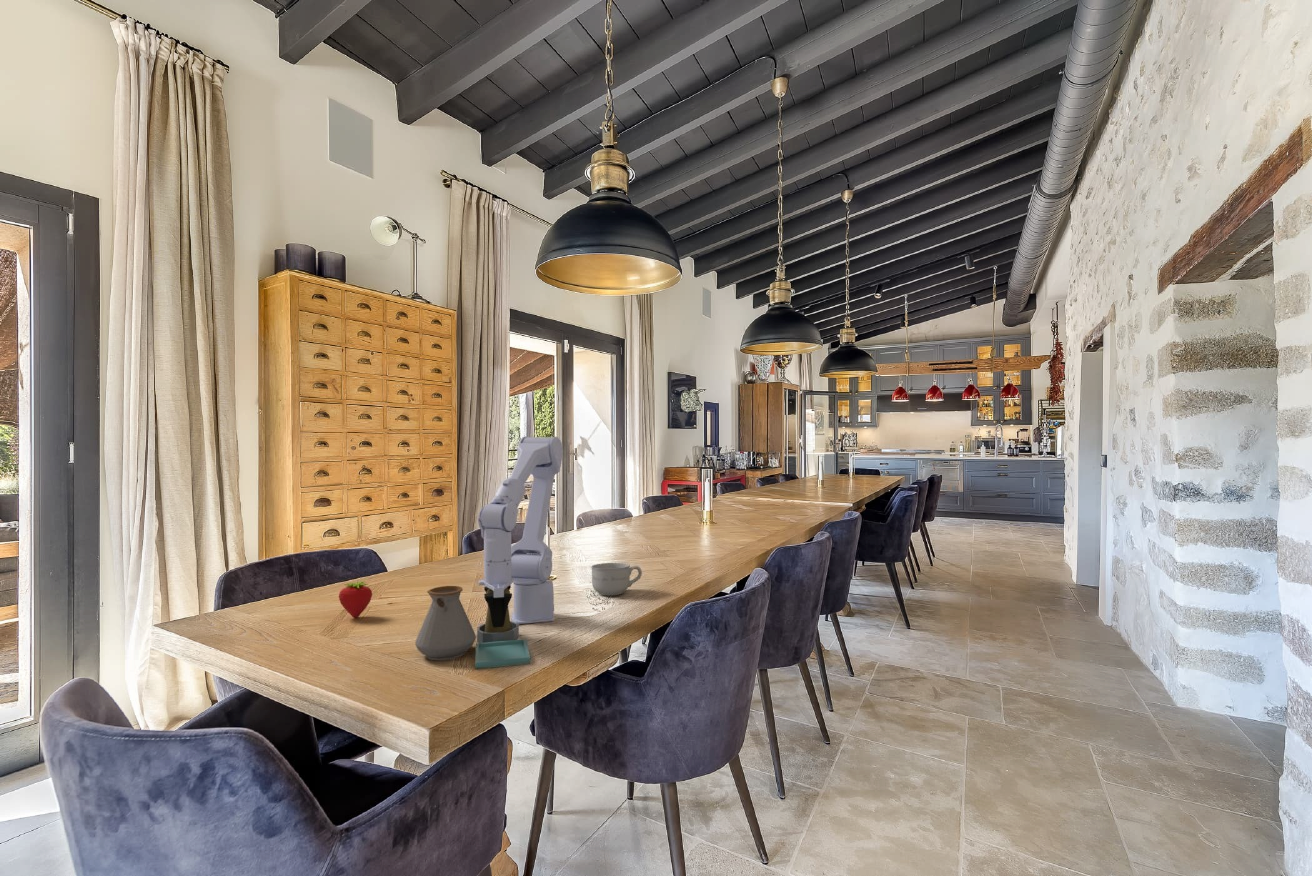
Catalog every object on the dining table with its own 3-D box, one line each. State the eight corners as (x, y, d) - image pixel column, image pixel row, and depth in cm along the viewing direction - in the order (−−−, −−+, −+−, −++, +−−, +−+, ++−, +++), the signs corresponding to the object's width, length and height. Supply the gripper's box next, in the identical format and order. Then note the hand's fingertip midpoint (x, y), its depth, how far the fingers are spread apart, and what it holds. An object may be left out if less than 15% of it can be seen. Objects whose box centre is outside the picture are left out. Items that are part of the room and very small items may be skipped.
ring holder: (517, 630, 135) (517, 619, 135) (519, 643, 127) (519, 631, 127) (477, 634, 133) (477, 622, 133) (477, 647, 124) (476, 635, 124)
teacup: (586, 597, 163) (586, 568, 163) (597, 587, 174) (597, 560, 174) (637, 600, 161) (637, 569, 161) (644, 589, 171) (644, 561, 171)
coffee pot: (419, 646, 125) (419, 574, 125) (476, 641, 128) (476, 570, 128) (403, 687, 105) (403, 601, 104) (472, 680, 107) (472, 596, 107)
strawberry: (345, 614, 148) (345, 573, 148) (376, 613, 148) (376, 573, 148) (333, 621, 142) (333, 579, 142) (365, 621, 142) (365, 578, 142)
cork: (517, 635, 132) (517, 585, 132) (502, 644, 126) (501, 592, 126) (494, 632, 134) (493, 583, 134) (477, 641, 128) (477, 589, 128)
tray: (525, 644, 126) (525, 638, 126) (529, 663, 116) (529, 657, 115) (475, 649, 123) (475, 643, 123) (475, 669, 113) (475, 662, 113)
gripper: (478, 554, 136) (478, 614, 136) (478, 567, 122) (478, 635, 122) (510, 552, 138) (510, 612, 138) (514, 565, 124) (514, 631, 124)
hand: (497, 622), depth 130 cm, fingers closed on cork, 5 cm apart
